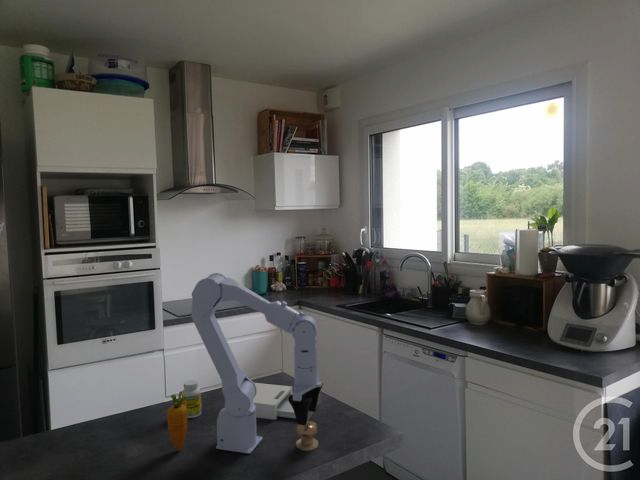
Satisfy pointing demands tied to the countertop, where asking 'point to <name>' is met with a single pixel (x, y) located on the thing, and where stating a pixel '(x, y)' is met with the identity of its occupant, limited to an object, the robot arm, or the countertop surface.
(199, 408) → the supplement bottle
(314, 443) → the stand
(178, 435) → the carrot
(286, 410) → the tray
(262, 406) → the player
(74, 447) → the countertop surface
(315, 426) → the disc
